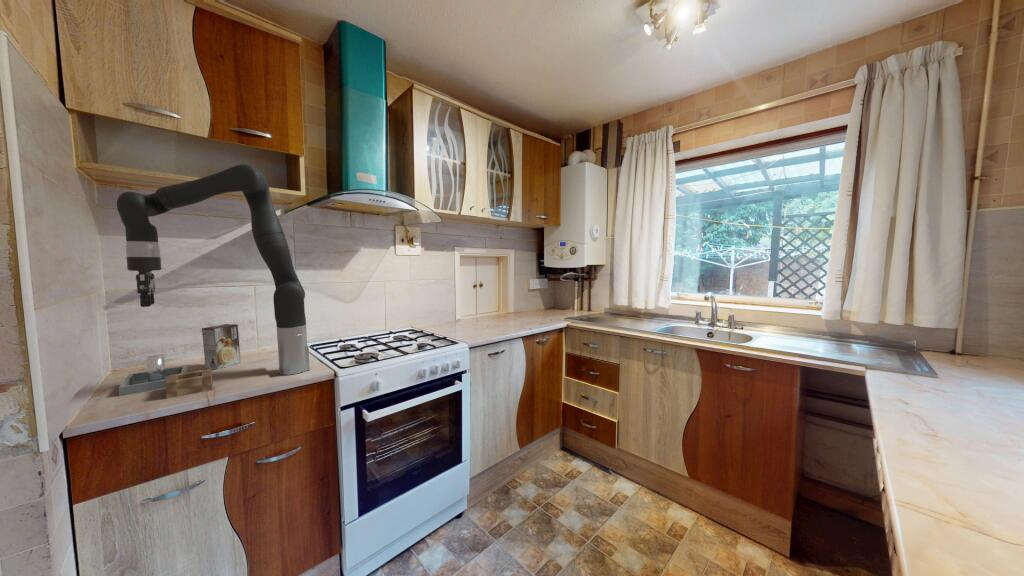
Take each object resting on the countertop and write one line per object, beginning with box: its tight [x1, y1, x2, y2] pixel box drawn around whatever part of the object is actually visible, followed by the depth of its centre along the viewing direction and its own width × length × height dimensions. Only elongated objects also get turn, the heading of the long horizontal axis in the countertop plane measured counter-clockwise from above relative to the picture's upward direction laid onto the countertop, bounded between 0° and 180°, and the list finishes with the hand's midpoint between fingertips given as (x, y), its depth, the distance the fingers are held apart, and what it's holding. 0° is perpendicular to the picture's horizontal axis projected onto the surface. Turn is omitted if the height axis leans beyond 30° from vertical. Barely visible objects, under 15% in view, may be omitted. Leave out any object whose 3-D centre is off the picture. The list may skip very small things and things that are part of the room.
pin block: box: [165, 368, 214, 399], centre depth 106 cm, size 10×10×6 cm
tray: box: [118, 365, 189, 397], centre depth 112 cm, size 14×17×4 cm
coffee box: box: [201, 323, 242, 370], centre depth 133 cm, size 9×6×16 cm
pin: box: [146, 354, 166, 382], centre depth 112 cm, size 4×4×9 cm
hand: (147, 305), depth 111 cm, fingers open, 8 cm apart
